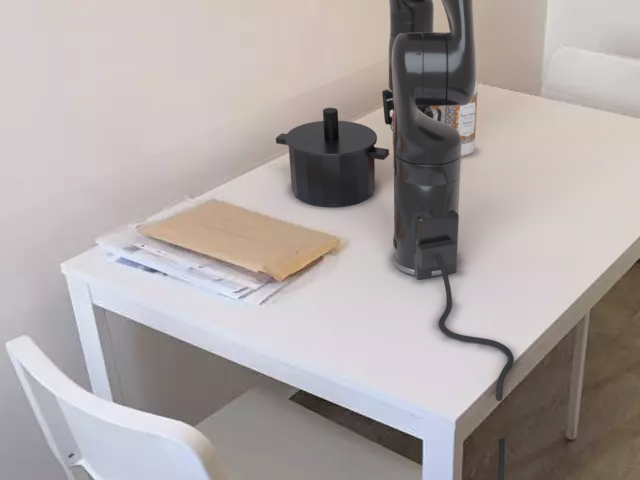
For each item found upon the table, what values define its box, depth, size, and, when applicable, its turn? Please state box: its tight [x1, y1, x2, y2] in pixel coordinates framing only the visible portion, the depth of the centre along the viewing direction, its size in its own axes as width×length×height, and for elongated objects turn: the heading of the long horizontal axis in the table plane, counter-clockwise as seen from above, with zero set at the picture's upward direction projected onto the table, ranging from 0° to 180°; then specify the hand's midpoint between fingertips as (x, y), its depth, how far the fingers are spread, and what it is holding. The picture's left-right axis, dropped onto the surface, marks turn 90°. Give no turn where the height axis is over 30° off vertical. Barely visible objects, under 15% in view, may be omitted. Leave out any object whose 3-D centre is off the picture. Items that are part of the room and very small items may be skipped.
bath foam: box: [439, 81, 478, 157], centre depth 161 cm, size 7×7×20 cm
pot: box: [275, 132, 390, 208], centre depth 148 cm, size 14×19×9 cm
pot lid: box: [286, 107, 378, 157], centre depth 144 cm, size 15×15×6 cm
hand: (410, 156), depth 154 cm, fingers closed on tomato can, 6 cm apart
